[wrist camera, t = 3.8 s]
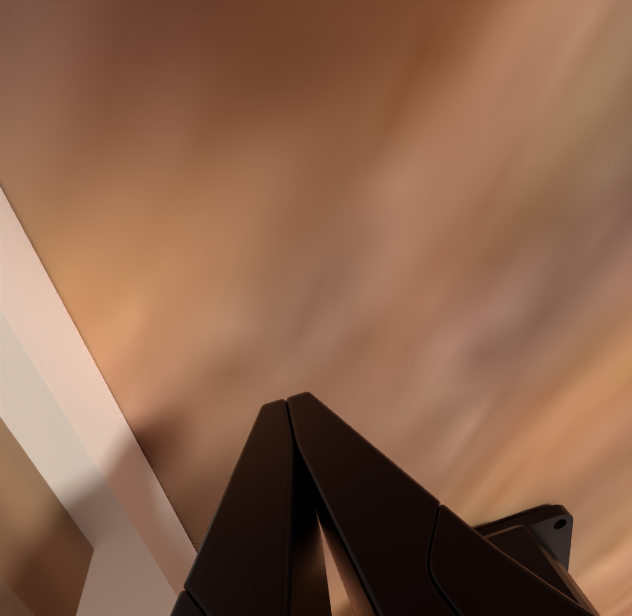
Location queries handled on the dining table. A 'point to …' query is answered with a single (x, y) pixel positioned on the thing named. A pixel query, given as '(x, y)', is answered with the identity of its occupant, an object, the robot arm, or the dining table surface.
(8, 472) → the walnut tile
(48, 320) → the deck
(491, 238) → the dining table surface
